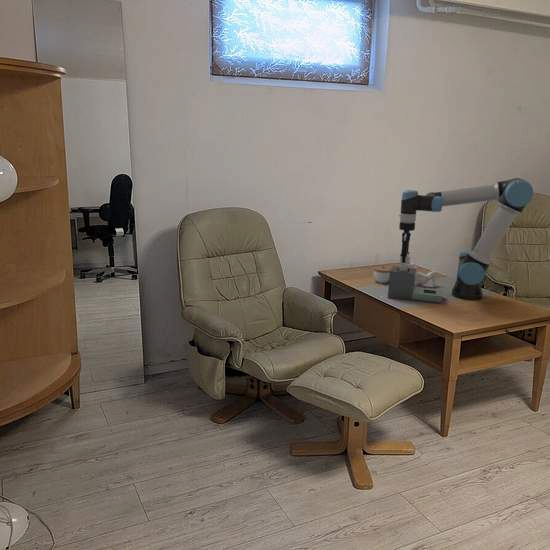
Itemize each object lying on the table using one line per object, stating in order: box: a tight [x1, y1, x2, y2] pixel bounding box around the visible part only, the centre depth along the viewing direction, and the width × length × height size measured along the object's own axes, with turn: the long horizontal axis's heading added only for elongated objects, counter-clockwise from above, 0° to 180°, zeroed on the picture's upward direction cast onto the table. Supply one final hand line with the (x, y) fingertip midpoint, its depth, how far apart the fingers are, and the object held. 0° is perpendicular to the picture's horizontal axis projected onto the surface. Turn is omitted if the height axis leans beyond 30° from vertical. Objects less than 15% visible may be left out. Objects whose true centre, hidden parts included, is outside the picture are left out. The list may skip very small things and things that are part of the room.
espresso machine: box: [387, 265, 444, 305], centre depth 274 cm, size 26×12×14 cm, turn 71°
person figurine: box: [408, 262, 439, 288], centre depth 296 cm, size 13×13×18 cm
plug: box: [398, 253, 411, 272], centre depth 273 cm, size 5×4×11 cm
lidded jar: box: [372, 264, 392, 284], centre depth 302 cm, size 11×11×9 cm
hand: (403, 267), depth 274 cm, fingers open, 4 cm apart
